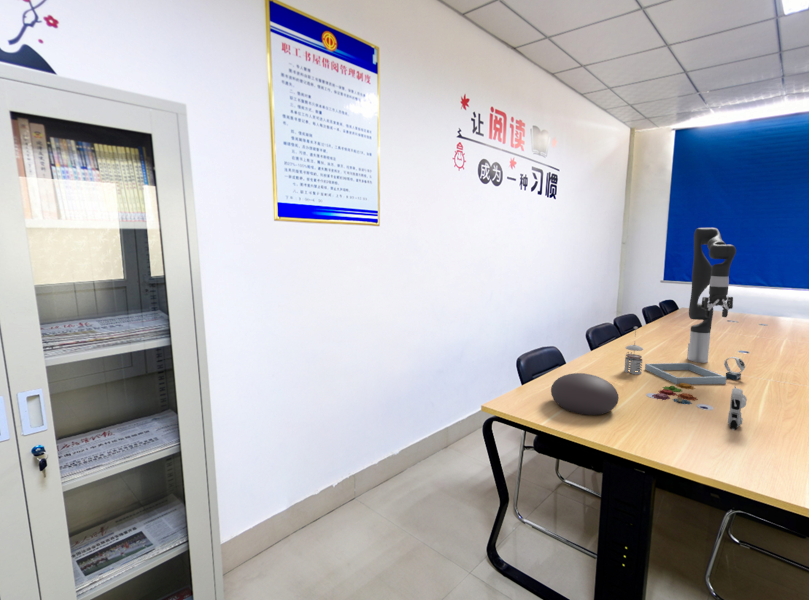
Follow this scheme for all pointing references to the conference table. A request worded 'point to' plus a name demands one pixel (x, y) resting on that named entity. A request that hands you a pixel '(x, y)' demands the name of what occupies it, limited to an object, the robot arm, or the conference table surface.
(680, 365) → the grey flat square frame
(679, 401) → the gear puzzle
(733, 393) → the robot toy
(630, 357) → the french press
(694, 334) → the robot arm
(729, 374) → the watch
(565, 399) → the smooth stone
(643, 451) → the conference table surface
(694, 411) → the conference table surface
